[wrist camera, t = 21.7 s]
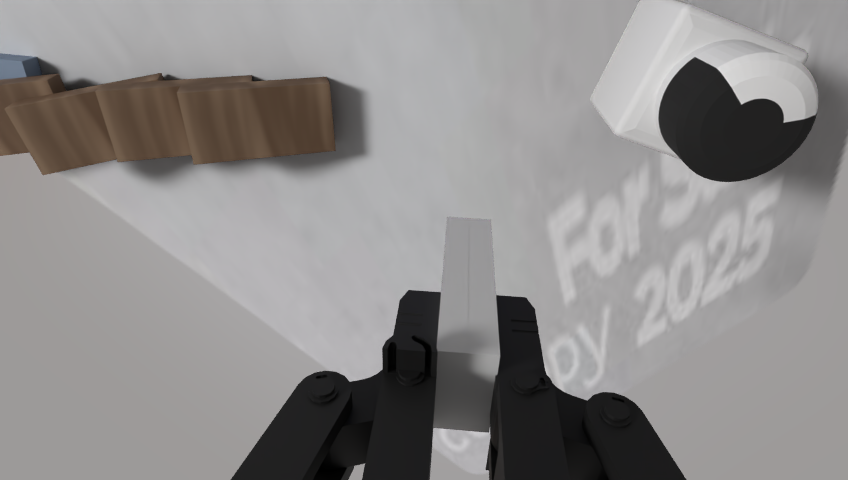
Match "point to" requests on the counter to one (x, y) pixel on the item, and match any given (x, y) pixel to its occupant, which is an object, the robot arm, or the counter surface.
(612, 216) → the counter surface
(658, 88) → the container
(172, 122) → the domino
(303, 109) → the domino
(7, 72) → the end domino
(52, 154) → the domino
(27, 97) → the domino
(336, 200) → the counter surface
